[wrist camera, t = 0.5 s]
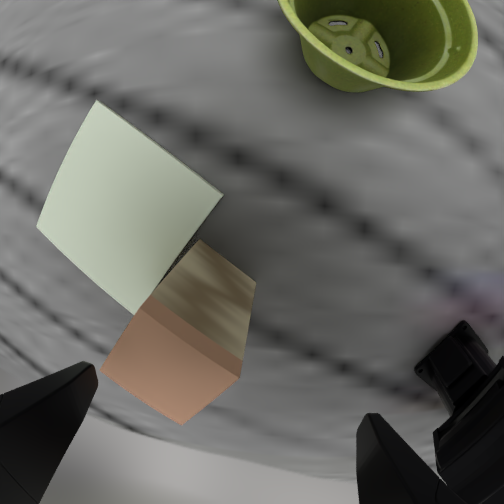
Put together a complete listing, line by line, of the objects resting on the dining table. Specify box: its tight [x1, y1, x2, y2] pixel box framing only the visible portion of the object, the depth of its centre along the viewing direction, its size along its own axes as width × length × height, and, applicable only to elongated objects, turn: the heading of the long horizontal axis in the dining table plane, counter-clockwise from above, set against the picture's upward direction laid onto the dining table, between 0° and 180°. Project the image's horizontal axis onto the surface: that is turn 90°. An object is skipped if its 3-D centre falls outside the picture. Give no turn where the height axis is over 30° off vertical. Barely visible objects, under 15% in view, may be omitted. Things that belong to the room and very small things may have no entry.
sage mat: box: [36, 100, 224, 315], centre depth 20 cm, size 12×12×1 cm
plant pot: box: [277, 0, 478, 92], centre depth 12 cm, size 9×9×9 cm
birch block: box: [100, 239, 256, 425], centre depth 17 cm, size 5×5×10 cm
